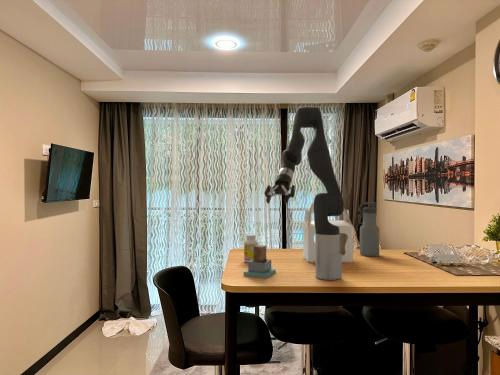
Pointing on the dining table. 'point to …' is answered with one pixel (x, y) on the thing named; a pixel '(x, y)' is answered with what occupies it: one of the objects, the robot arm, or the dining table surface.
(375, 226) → the water bottle
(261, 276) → the plate
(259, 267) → the square socket frame
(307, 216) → the gable box
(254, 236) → the supplement bottle
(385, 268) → the dining table surface
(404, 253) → the dining table surface
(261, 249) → the rail post
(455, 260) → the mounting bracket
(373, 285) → the dining table surface
